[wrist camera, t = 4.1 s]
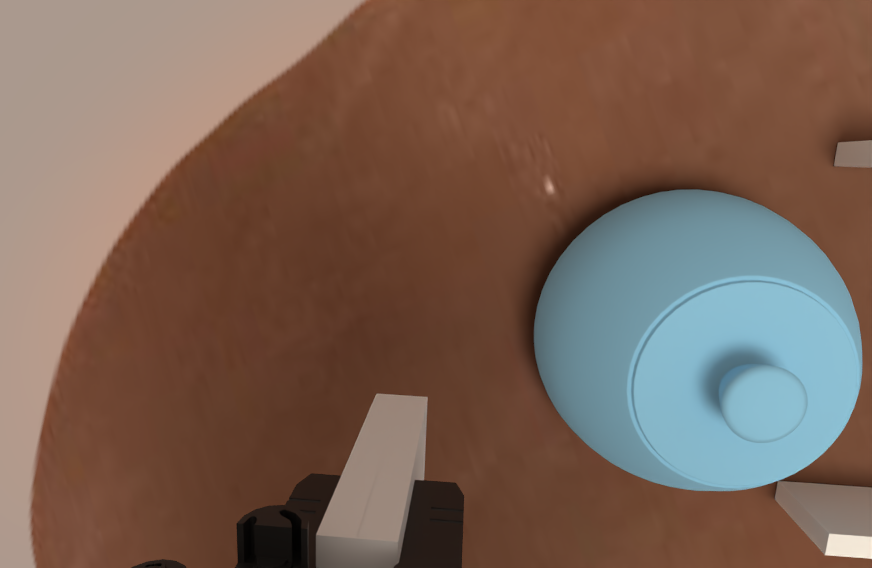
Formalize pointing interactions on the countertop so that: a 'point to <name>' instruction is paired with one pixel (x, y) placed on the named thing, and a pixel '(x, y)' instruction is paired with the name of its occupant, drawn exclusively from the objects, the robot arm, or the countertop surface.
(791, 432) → the sugar bowl
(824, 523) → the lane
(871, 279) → the countertop surface
